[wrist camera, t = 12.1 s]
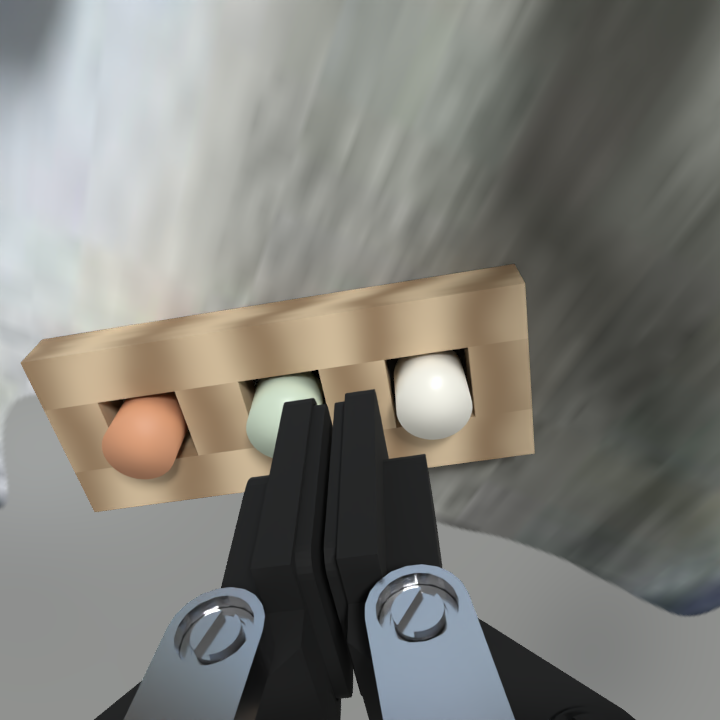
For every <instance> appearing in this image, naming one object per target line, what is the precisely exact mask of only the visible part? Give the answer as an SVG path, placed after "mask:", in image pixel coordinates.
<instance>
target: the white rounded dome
mask: <svg viewBox="0 0 720 720" xmlns="http://www.w3.org/2000/svg"><path fill="white" fill-rule="evenodd" d="M394 385H395V398H396V411H397V417H398V420H399V422H400V424H401V425H402V427H403V428H404V429H405V430H406V431H407V432H409V433H410V434H412V435H414V436H416V437H419V438H422V439H428V440H436V439H443V438H446V437H449V436H452V435H454V434H455V433H457V432H458V431H460V430H461V429H462V428H463V427H464V426H465V425H466V424H467V422H468V420H469V418H470V416H471V413H472V400H471V396H470V392H469V388H468V385H467V381H466V377H465V373H464V369H463V365H462V362H461V360H460V358H459V357H458V356H457V354H456V353H455V352H454V351H452V350H447V351H440V352H434V353H427V354H420V355H414V356H407V357H400V358H399V359H398V361H397V363H396V365H395V369H394Z"/></svg>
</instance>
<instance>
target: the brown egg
mask: <svg viewBox="0 0 720 720" xmlns="http://www.w3.org/2000/svg"><path fill="white" fill-rule="evenodd" d="M187 429H188V426H187V423H186V420H185V418H184V415H183V412H182V410H181V407H180V404H179V402H178V399H177V396H176V394H175V392H174V391H173V392H166V393H159V394H153V395H146V396H139V397H133V398H126V399H125V401H124V403H123V404H122V406H121V408H120V409H119V411H118V413H117V414H116V416H115V418H114V419H113V421H112V423H111V424H110V426H109V428H108V430H107V431H106V433H105V435H104V437H103V440H102V451H103V454H104V457H105V458H106V460H107V461H108V463H109V464H110V465H111V466H112V467H113V468H114V469H115V470H117V471H118V472H120V473H122V474H124V475H126V476H129V477H132V478H136V479H153V478H157V477H160V476H162V475H164V474H165V473H167V472H168V471H169V470H170V469H171V467H172V466H173V464H174V461H175V459H176V456H177V454H178V451H179V449H180V446H181V444H182V442H183V439H184V437H185V434H186V432H187Z"/></svg>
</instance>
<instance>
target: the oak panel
mask: <svg viewBox="0 0 720 720" xmlns="http://www.w3.org/2000/svg"><path fill="white" fill-rule="evenodd" d="M460 348H464V351H465V360H466V369H467V378H468V387H469V392H470V396H471V400H472V413H471V416H470V418H469V420H468V422H467V424H466V425H465V426H464V427H463V428H462V429H461V430H460V431H458V432H457V433H455V434H454V435H452V436H449V437H446V438H443V439H436V440H428V439H422V438H419V437H416V436H414V435H412V434H410V433H409V432H407V431H406V430H405V429H404V428H403V427H402V425H401V424H400V422H399V420H398V417H397V411H396V402H395V401H394V396H393V390H392V385H391V379H390V373H389V368H388V362H387V359H393V358H400V357H407V356H414V355H420V354H427V353H434V352H440V351H447V350H454V349H460ZM21 365H22V367H23V369H24V371H25V373H26V375H27V377H28V379H29V381H30V383H31V385H32V387H33V389H34V391H35V393H36V395H37V397H38V399H39V401H40V403H41V405H42V407H43V409H44V411H45V413H46V415H47V417H48V419H49V421H50V423H51V425H52V427H53V429H54V431H55V433H56V435H57V437H58V439H59V441H60V443H61V445H62V447H63V449H64V451H65V453H66V455H67V457H68V459H69V461H70V463H71V465H72V467H73V469H74V471H75V473H76V475H77V477H78V479H79V481H80V483H81V485H82V487H83V489H84V491H85V493H86V495H87V497H88V500H89V501H90V504H91V505H92V508H93V510H94V511H95V512H99V511H107V510H114V509H122V508H129V507H137V506H144V505H152V504H159V503H166V502H174V501H182V500H189V499H197V498H204V497H212V496H219V495H226V494H234V493H242V492H245V488H246V484H247V482H248V480H249V479H250V478H251V477H258V476H266V475H269V473H270V468H271V463H272V458H271V457H268V456H266V455H264V454H262V453H261V452H259V451H258V450H257V449H256V448H255V447H254V446H253V445H252V444H251V442H250V440H249V438H248V436H247V432H246V423H247V420H248V416H249V412H250V409H251V405H252V402H253V398H254V394H255V391H256V390H255V387H254V384H253V379H260V378H266V377H273V376H280V375H287V374H293V373H300V372H307V371H313V370H318V371H319V375H320V379H321V383H322V387H323V391H324V396H325V400H326V404H327V406H328V409H329V413H330V417H331V421H332V425H333V417H334V405H335V403H336V402H343V401H344V400H345V394H346V393H350V392H357V391H364V390H371V389H375V391H376V395H377V400H378V405H379V410H380V415H381V420H382V425H383V431H384V436H385V441H386V446H387V451H388V456H389V459H391V458H399V457H406V456H413V455H421V454H426V459H427V465H428V468H429V467H437V466H444V465H452V464H459V463H467V462H474V461H482V460H489V459H497V458H504V457H512V456H519V455H527V454H534V453H535V451H534V433H533V416H532V398H531V380H530V362H529V344H528V326H527V308H526V290H525V282H524V280H523V279H522V277H521V275H520V273H519V271H518V270H517V268H516V266H515V264H511V265H504V266H498V267H492V268H486V269H479V270H473V271H467V272H461V273H454V274H448V275H442V276H436V277H430V278H423V279H417V280H411V281H405V282H398V283H392V284H386V285H380V286H373V287H367V288H361V289H355V290H348V291H342V292H336V293H330V294H323V295H317V296H311V297H305V298H299V299H292V300H286V301H280V302H274V303H267V304H261V305H255V306H249V307H242V308H236V309H230V310H224V311H217V312H211V313H205V314H199V315H193V316H186V317H180V318H174V319H168V320H161V321H155V322H149V323H143V324H136V325H130V326H124V327H118V328H111V329H105V330H99V331H93V332H86V333H80V334H74V335H68V336H62V337H55V338H49V339H43V340H41V341H40V343H39V344H38V345H37V346H36V347H35V348H34V349H33V350H32V351H31V352H30V353H29V354H28V355H27V356H26V357H25V359H24V360H23V361H22V362H21ZM173 391H175V394H176V396H177V399H178V402H179V404H180V407H181V410H182V412H183V415H184V418H185V420H186V423H187V426H188V428H189V431H188V432H186V434H185V437H184V439H183V442H182V444H181V446H180V449H179V451H178V454H177V456H176V459H175V461H174V464H173V466H172V467H171V469H170V470H169V471H168V472H167V473H165V474H164V475H162V476H160V477H157V478H153V479H136V478H132V477H129V476H126V475H124V474H122V473H120V472H118V471H117V470H115V469H114V468H113V467H112V466H111V465H110V464H109V463H108V461H107V460H106V458H105V457H104V454H103V451H102V440H103V437H104V435H105V433H106V431H107V430H108V428H109V426H110V424H111V423H112V421H113V419H114V418H115V416H116V414H117V413H118V411H119V409H120V408H121V406H122V404H123V403H124V401H123V399H126V398H133V397H139V396H146V395H153V394H159V393H166V392H173Z"/></svg>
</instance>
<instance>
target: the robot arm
mask: <svg viewBox="0 0 720 720" xmlns="http://www.w3.org/2000/svg"><path fill="white" fill-rule="evenodd" d="M353 669H354V673H355V676H356V680H357V683H358V687H359V690H360V694H361V695H362V696H363V699H364V703H365V706H366V710H367V713H368V717H369V720H635V719H634V718H633V717H632V716H631V715H629V714H628V713H627V712H626V711H624V710H623V709H622V708H620V707H618V706H617V705H615V704H613V703H612V702H610V701H609V700H607V699H606V698H604V697H602V696H601V695H599V694H598V693H596V692H595V691H593V690H591V689H590V688H588V687H587V686H585V685H583V684H582V683H580V682H579V681H577V680H575V679H574V678H572V677H571V676H569V675H568V674H566V673H564V672H563V671H561V670H560V669H558V668H556V667H555V666H553V665H552V664H550V663H549V662H547V661H545V660H544V659H542V658H541V657H539V656H537V655H536V654H534V653H533V652H531V651H529V650H528V649H526V648H525V647H523V646H522V645H520V644H518V643H516V642H515V641H514V640H512V639H510V638H509V637H507V636H506V635H504V634H502V633H501V632H499V631H498V630H496V629H495V628H493V627H491V626H490V625H488V624H487V623H485V622H483V621H482V620H480V619H479V618H477V615H476V612H475V609H474V607H473V604H472V602H471V598H470V596H469V593H468V591H467V590H466V588H465V586H464V585H463V583H462V582H461V580H459V579H458V578H457V577H456V576H455V575H453V574H452V573H451V572H449V571H447V570H444V569H442V562H441V554H440V547H439V540H438V532H437V524H436V517H435V511H434V504H433V497H432V491H431V484H430V478H429V472H428V465H427V459H426V454H421V455H413V456H406V457H399V458H391V459H389V456H388V451H387V446H386V441H385V436H384V431H383V425H382V420H381V415H380V410H379V405H378V400H377V395H376V391H375V389H371V390H364V391H357V392H350V393H346V394H345V400H344V401H343V402H336V403H335V405H334V417H333V425H332V421H331V417H330V413H329V409H328V406H327V404H322V405H317V402H316V400H315V399H314V398H309V399H302V400H295V401H289V402H285V403H284V405H283V409H282V414H281V419H280V424H279V429H278V434H277V439H276V444H275V449H274V454H273V458H272V463H271V468H270V473H269V475H266V476H258V477H251V478H250V479H249V480H248V482H247V484H246V488H245V492H244V496H243V500H242V504H241V509H240V512H239V516H238V521H237V525H236V529H235V533H234V537H233V541H232V545H231V549H230V553H229V557H228V561H227V565H226V570H225V574H224V578H223V582H222V586H221V588H220V589H215V590H212V591H210V592H207V593H204V594H201V595H200V596H198V597H196V598H195V599H193V600H192V601H190V602H189V603H187V604H186V605H185V606H184V607H183V608H182V609H181V610H180V611H179V612H178V613H177V614H176V615H175V617H174V618H173V620H172V621H171V623H170V624H169V626H168V627H167V629H166V631H165V633H164V636H163V638H162V640H161V642H160V644H159V647H158V648H157V650H156V652H155V655H154V657H153V659H152V661H151V663H150V665H149V667H148V669H147V671H146V674H145V676H144V678H143V680H142V681H141V682H140V683H139V684H137V685H136V686H135V687H134V688H132V689H131V690H130V691H129V692H127V693H126V694H125V695H124V696H122V697H121V698H120V699H119V700H118V701H116V702H115V703H114V704H113V705H111V706H110V707H109V708H108V709H107V710H105V711H104V712H103V713H102V714H101V715H99V716H98V717H97V718H96V719H94V720H340V715H341V698H349V697H351V696H352V693H353Z"/></svg>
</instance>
